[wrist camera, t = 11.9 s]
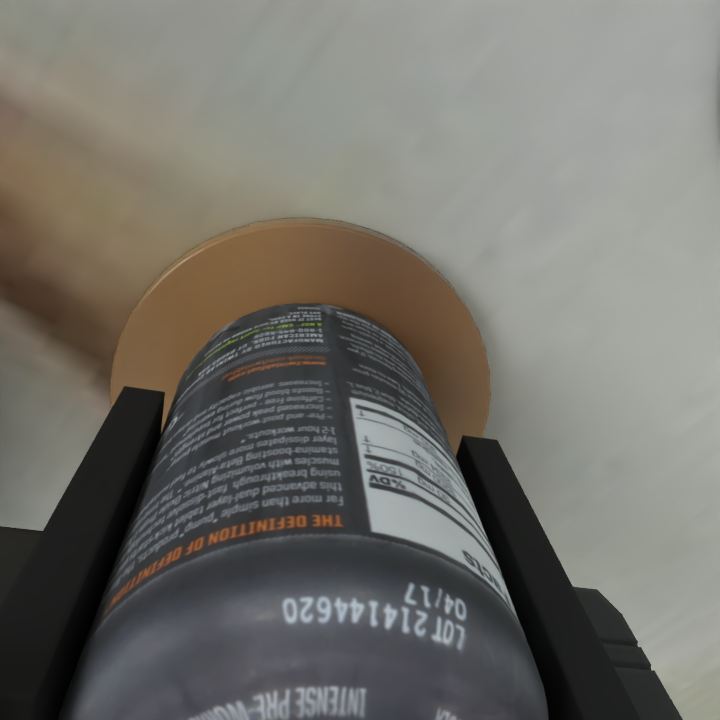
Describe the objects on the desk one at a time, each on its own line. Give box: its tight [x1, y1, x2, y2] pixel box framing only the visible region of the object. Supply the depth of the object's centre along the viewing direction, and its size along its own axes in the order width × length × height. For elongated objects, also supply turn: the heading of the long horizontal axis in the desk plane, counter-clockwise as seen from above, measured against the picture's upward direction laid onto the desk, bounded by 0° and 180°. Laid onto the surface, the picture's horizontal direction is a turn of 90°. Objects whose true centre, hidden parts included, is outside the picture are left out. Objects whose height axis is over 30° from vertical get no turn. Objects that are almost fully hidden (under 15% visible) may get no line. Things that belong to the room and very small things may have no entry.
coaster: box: [110, 218, 491, 458], centre depth 16 cm, size 9×9×1 cm
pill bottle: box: [58, 303, 549, 720], centre depth 10 cm, size 6×6×11 cm
